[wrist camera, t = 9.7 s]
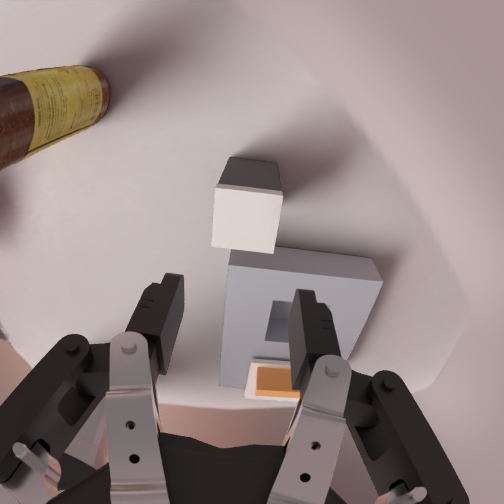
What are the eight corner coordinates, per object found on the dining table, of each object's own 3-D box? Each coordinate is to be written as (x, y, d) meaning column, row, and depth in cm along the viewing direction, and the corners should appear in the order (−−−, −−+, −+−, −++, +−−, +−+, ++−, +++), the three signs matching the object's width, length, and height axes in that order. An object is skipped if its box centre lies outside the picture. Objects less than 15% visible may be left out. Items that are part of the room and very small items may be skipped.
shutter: (244, 394, 35) (243, 418, 32) (251, 358, 31) (250, 385, 28) (303, 397, 36) (305, 421, 32) (319, 362, 32) (323, 389, 29)
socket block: (222, 361, 38) (218, 385, 35) (232, 241, 29) (228, 264, 26) (325, 369, 39) (329, 392, 35) (371, 258, 30) (383, 281, 26)
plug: (224, 201, 27) (211, 246, 20) (229, 156, 25) (215, 187, 18) (270, 206, 27) (273, 253, 20) (277, 162, 25) (283, 195, 18)
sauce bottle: (91, 52, 20) (-109, 74, 3) (125, 101, 22) (-76, 177, 5) (47, 98, 22) (-128, 169, 5) (78, 145, 24) (-91, 256, 7)
